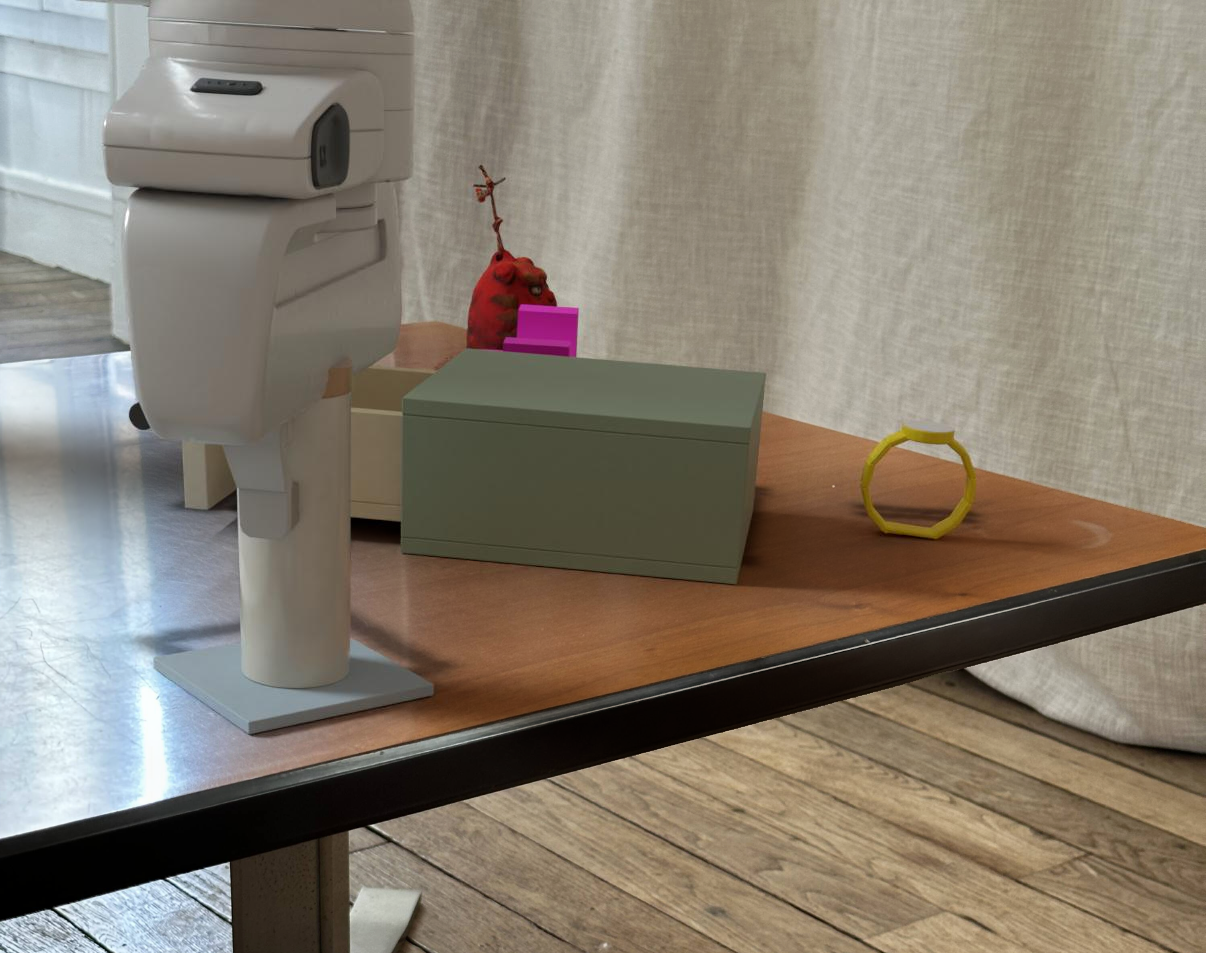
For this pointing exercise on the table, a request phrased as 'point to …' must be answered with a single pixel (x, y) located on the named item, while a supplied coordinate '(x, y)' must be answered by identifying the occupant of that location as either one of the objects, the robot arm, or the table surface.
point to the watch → (928, 435)
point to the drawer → (370, 447)
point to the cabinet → (582, 464)
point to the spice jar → (305, 557)
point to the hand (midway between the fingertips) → (293, 514)
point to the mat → (269, 707)
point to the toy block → (545, 331)
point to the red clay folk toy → (503, 289)
